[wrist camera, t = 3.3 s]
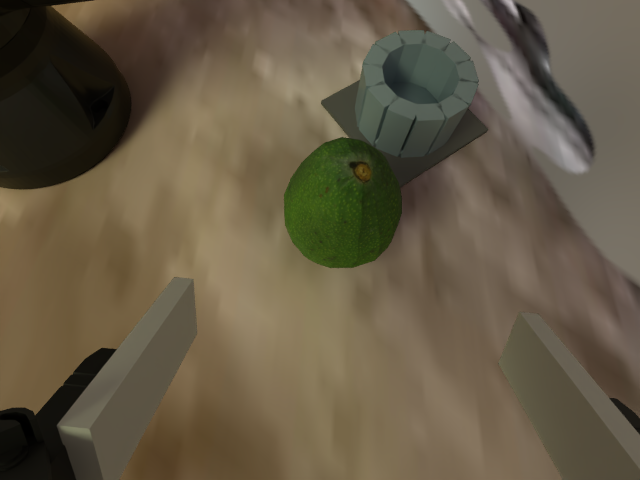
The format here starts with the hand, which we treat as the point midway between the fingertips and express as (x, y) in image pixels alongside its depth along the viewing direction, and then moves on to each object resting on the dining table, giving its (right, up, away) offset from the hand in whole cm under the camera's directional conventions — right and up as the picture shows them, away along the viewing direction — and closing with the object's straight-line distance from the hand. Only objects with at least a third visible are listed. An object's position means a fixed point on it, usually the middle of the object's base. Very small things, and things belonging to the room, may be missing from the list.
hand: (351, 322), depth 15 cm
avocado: (0, +4, +15) cm, 15 cm away
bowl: (+6, +15, +18) cm, 24 cm away
